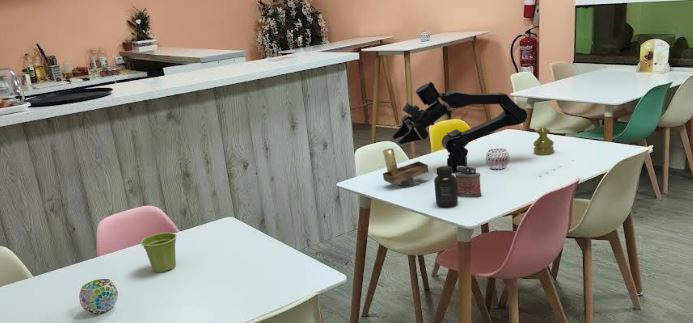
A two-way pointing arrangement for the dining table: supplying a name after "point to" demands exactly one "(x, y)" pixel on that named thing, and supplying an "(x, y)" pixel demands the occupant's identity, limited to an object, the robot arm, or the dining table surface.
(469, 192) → the lighter
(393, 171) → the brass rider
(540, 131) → the olive tiered piece
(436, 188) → the supplement bottle
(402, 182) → the stand
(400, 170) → the brown wooden tray
